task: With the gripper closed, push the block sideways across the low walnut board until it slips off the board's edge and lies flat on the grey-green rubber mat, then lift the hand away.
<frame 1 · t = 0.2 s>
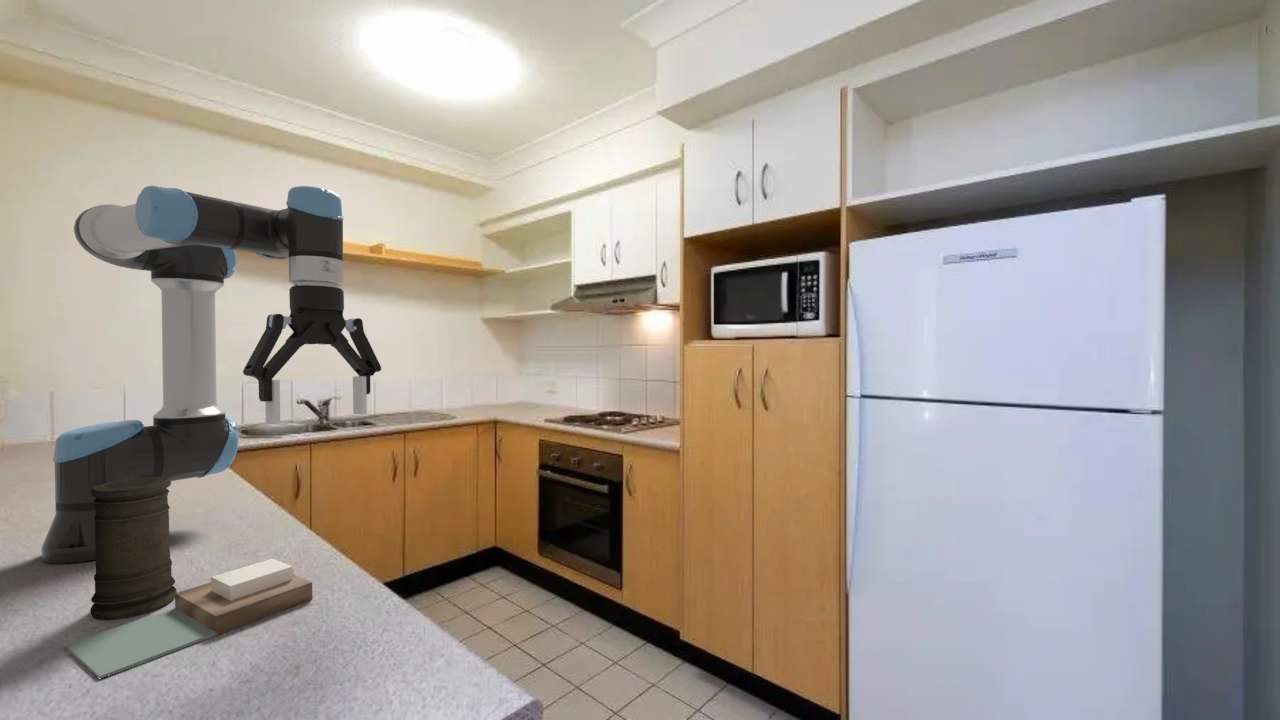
hand: (319, 418, 86), 26 cm above the countertop, tool pointing down, fingers open, 13 cm apart
board: (245, 604, 78), on the countertop
mat: (141, 641, 68), on the countertop
container: (134, 607, 78), on the countertop
block: (252, 585, 79), point 2 cm above the countertop, touching board
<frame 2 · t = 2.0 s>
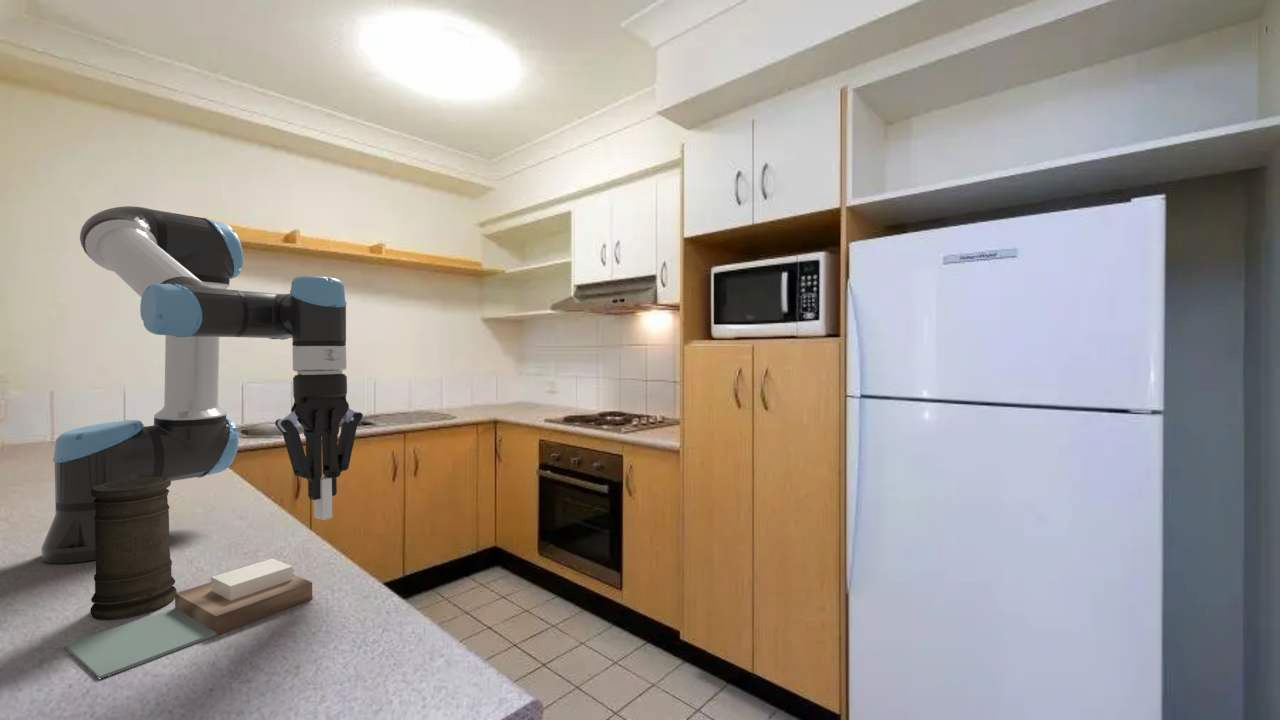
hand: (323, 517, 87), 10 cm above the countertop, tool pointing down, fingers closed
nothing on the countertop moved.
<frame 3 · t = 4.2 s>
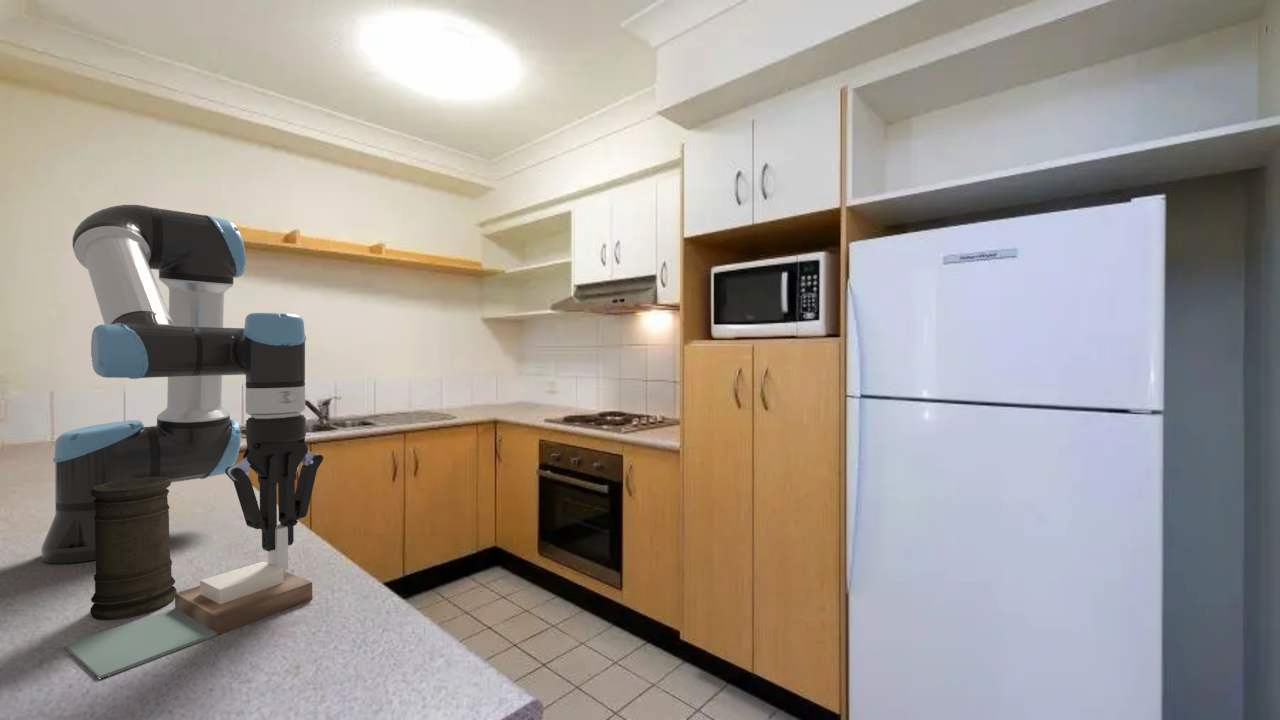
hand: (278, 568, 82), 4 cm above the countertop, tool pointing down, fingers closed
block: (243, 588, 78), point 2 cm above the countertop, touching board
everything else where it was.
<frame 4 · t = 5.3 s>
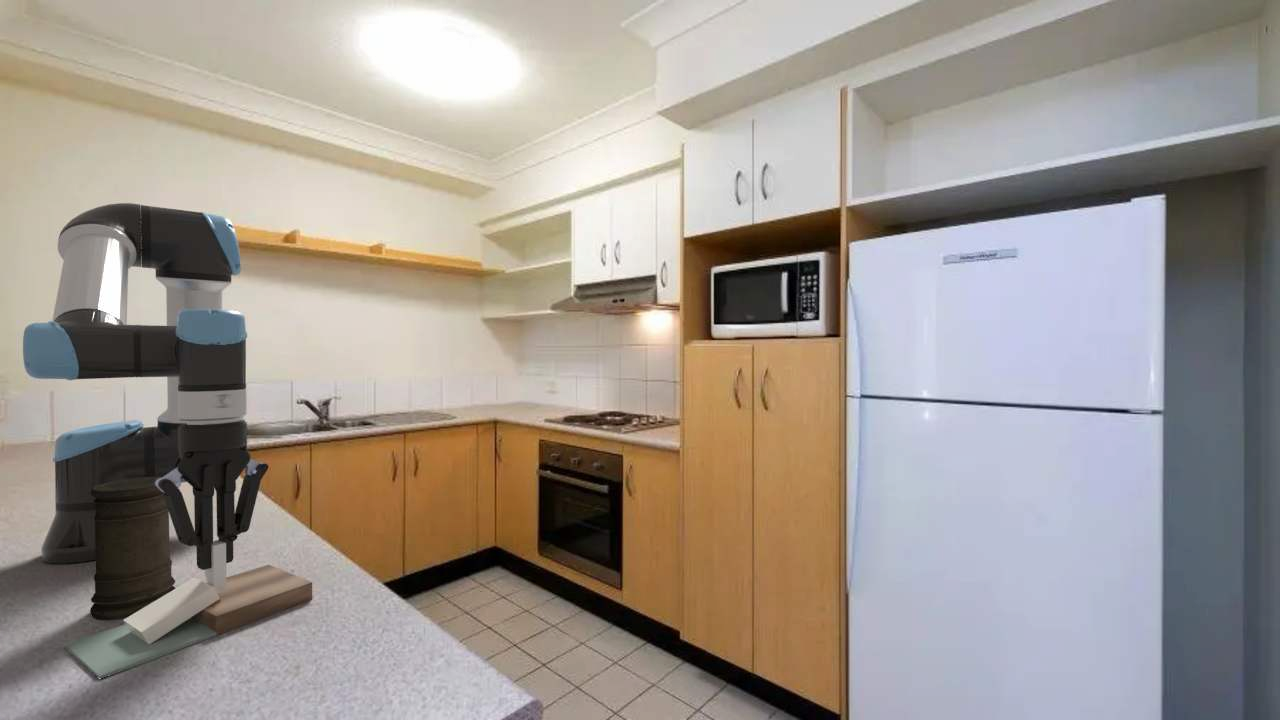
hand: (215, 588, 75), 4 cm above the countertop, tool pointing down, fingers closed
block: (176, 614, 71), point 2 cm above the countertop, tilted 20°, touching gripper
everything else where it was.
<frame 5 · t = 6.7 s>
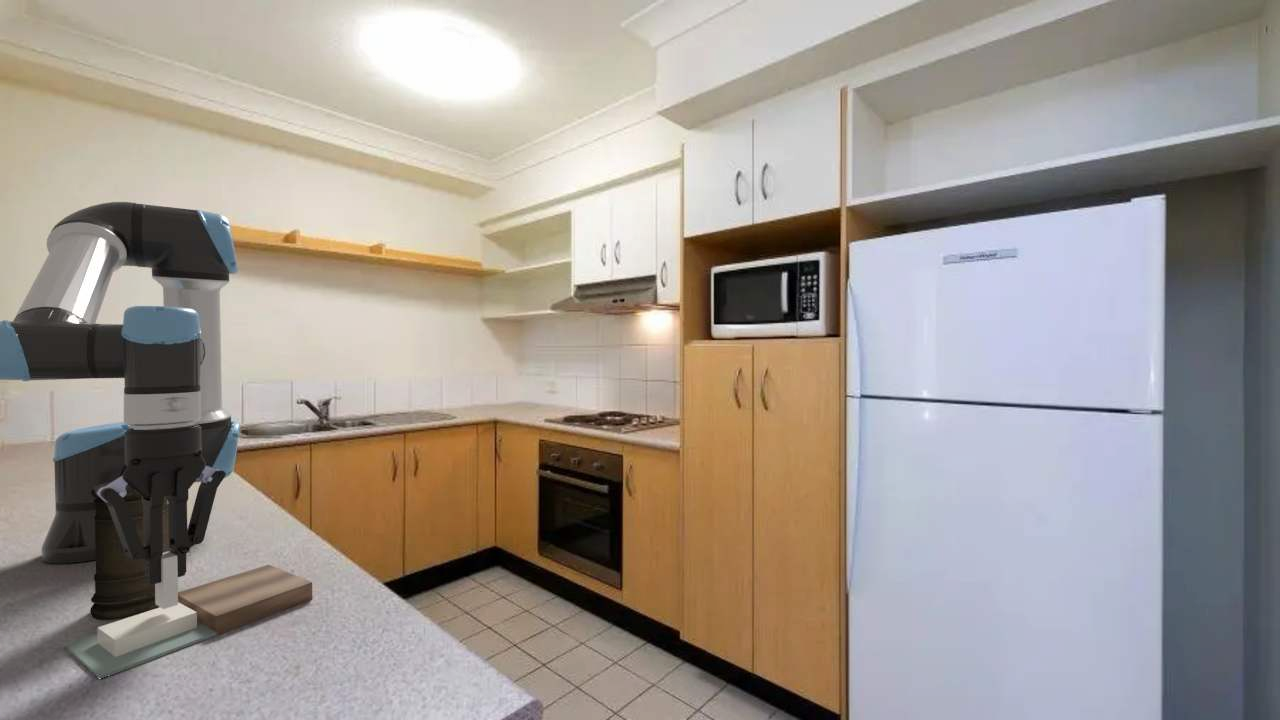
hand: (166, 604, 70), 4 cm above the countertop, tool pointing down, fingers closed
block: (148, 635, 69), resting on mat
everything else where it was.
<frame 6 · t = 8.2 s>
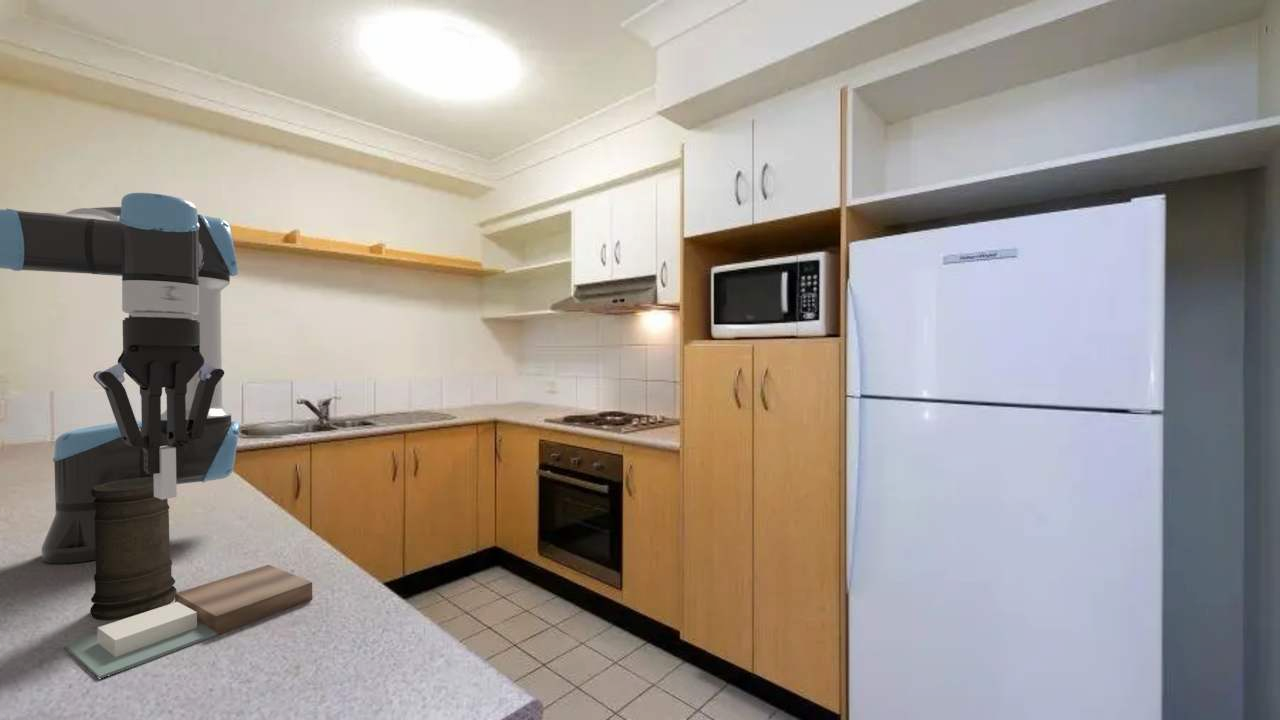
hand: (165, 496, 70), 18 cm above the countertop, tool pointing down, fingers closed
nothing on the countertop moved.
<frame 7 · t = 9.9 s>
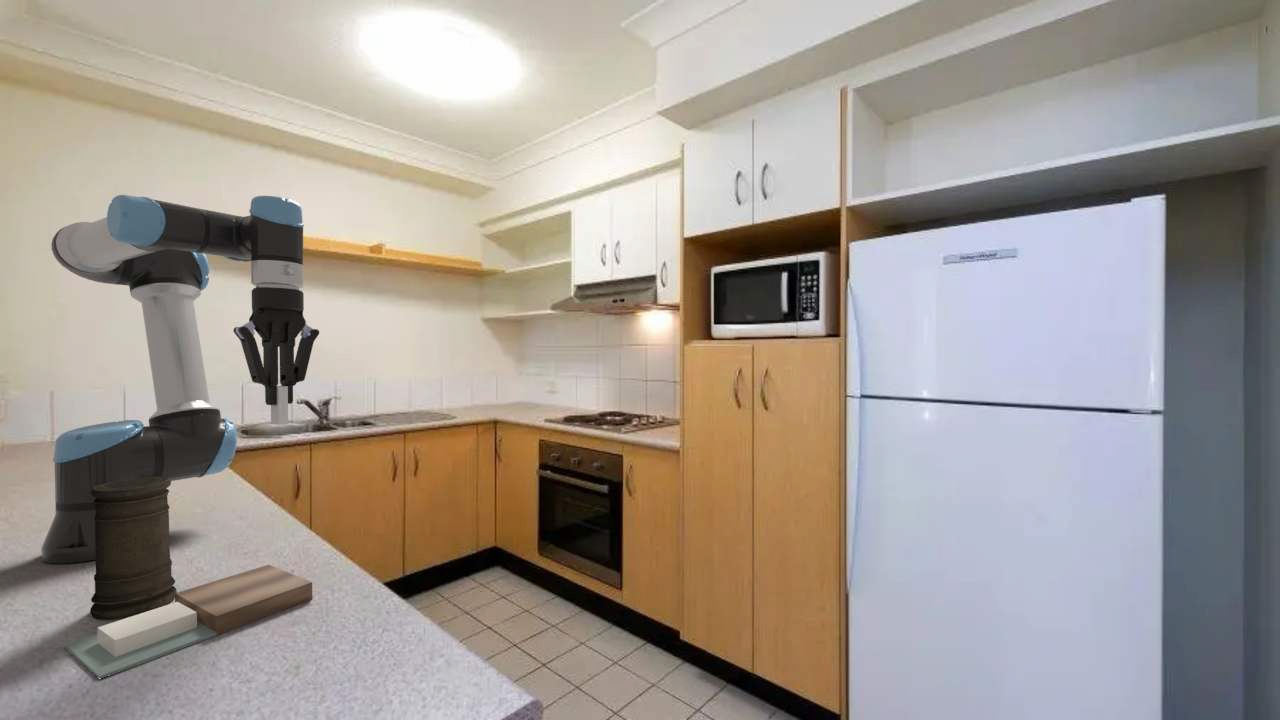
hand: (279, 423, 94), 24 cm above the countertop, tool pointing down, fingers closed
nothing on the countertop moved.
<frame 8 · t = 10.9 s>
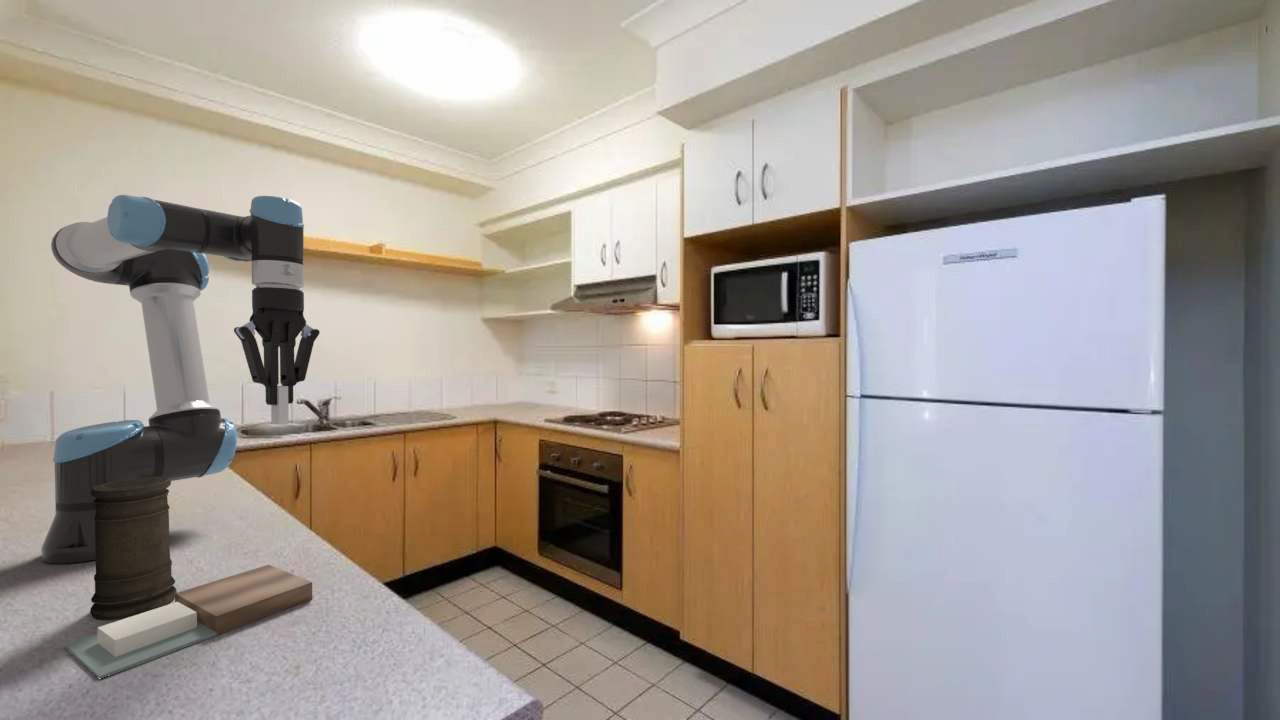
hand: (279, 423, 94), 24 cm above the countertop, tool pointing down, fingers closed
nothing on the countertop moved.
at the end: block inside the target area (1.0 cm from its centre), resting on mat; block resting on mat; block tilted 0° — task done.
